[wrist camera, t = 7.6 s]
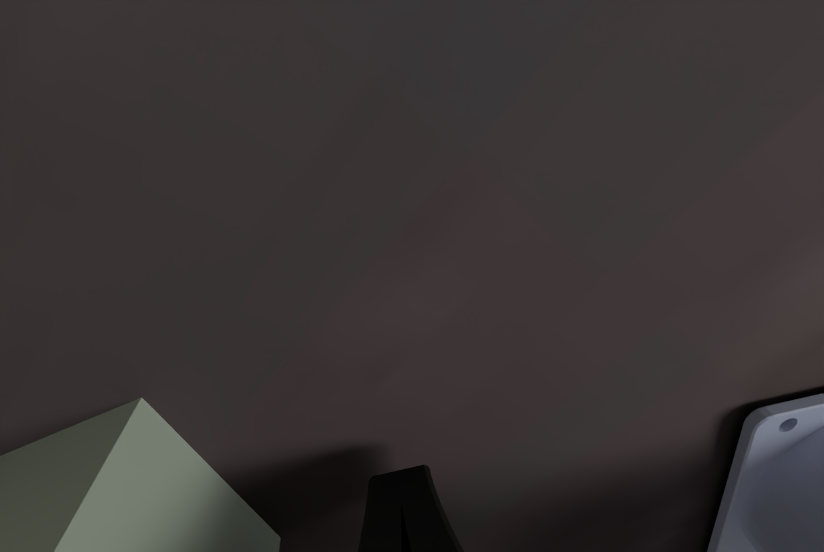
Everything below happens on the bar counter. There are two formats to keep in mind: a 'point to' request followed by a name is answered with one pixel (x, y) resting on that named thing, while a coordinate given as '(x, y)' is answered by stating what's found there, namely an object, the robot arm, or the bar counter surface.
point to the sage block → (122, 492)
